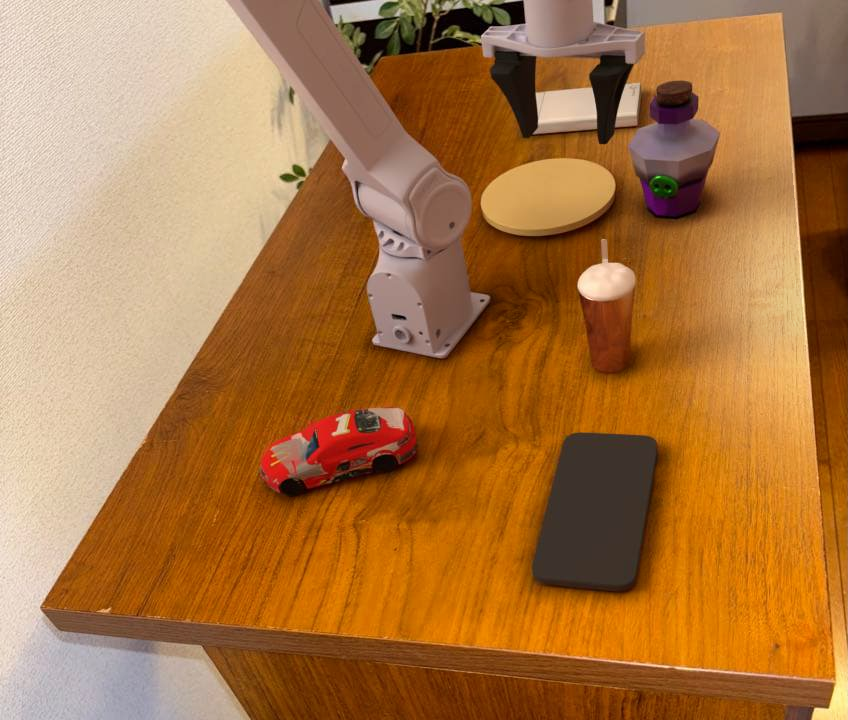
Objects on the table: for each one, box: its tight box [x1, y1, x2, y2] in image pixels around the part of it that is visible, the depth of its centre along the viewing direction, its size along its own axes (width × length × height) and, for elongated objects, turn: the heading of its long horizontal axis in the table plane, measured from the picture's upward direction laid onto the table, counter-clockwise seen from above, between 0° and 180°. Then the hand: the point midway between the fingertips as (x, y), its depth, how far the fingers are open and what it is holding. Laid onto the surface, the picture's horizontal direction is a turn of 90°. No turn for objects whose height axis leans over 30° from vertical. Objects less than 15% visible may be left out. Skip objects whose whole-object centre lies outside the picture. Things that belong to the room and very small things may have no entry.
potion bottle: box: [627, 79, 721, 220], centre depth 94 cm, size 9×9×12 cm
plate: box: [480, 157, 617, 237], centre depth 103 cm, size 14×14×1 cm
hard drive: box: [531, 82, 643, 136], centre depth 114 cm, size 2×8×12 cm
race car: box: [259, 406, 419, 497], centre depth 80 cm, size 13×5×4 cm, turn 98°
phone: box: [531, 431, 659, 592], centre depth 73 cm, size 7×1×15 cm
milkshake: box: [577, 238, 636, 374], centre depth 81 cm, size 4×5×10 cm
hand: (567, 136), depth 91 cm, fingers open, 7 cm apart
